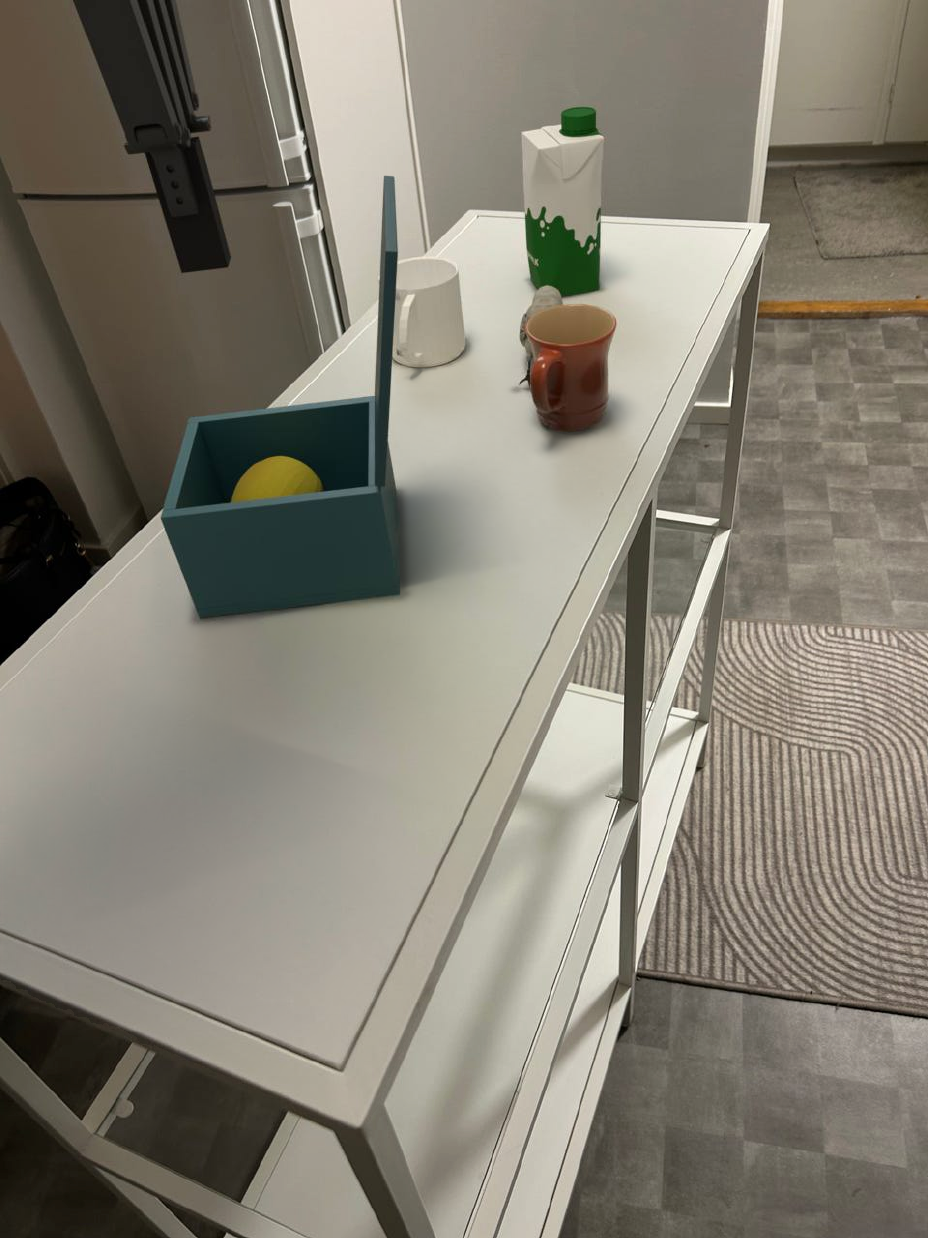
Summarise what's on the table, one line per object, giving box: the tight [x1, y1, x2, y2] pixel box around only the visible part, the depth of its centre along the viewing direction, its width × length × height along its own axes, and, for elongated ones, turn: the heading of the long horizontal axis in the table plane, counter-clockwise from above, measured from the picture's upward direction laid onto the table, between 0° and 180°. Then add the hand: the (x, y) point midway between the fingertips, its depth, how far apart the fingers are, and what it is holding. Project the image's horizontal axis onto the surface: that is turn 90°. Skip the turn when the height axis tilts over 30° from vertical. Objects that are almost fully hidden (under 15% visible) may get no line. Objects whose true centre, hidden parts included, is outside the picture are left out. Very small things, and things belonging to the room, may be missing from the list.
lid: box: [374, 175, 399, 487], centre depth 70 cm, size 18×15×1 cm
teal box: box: [160, 395, 401, 619], centre depth 80 cm, size 17×15×10 cm
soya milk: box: [520, 106, 605, 298], centre depth 113 cm, size 9×9×20 cm
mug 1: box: [377, 255, 466, 368], centre depth 106 cm, size 12×9×9 cm
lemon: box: [231, 456, 324, 503], centre depth 80 cm, size 11×8×8 cm
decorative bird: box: [518, 285, 564, 389], centre depth 103 cm, size 5×16×7 cm, turn 173°
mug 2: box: [525, 303, 617, 433], centre depth 91 cm, size 12×9×10 cm
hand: (206, 264), depth 53 cm, fingers closed
